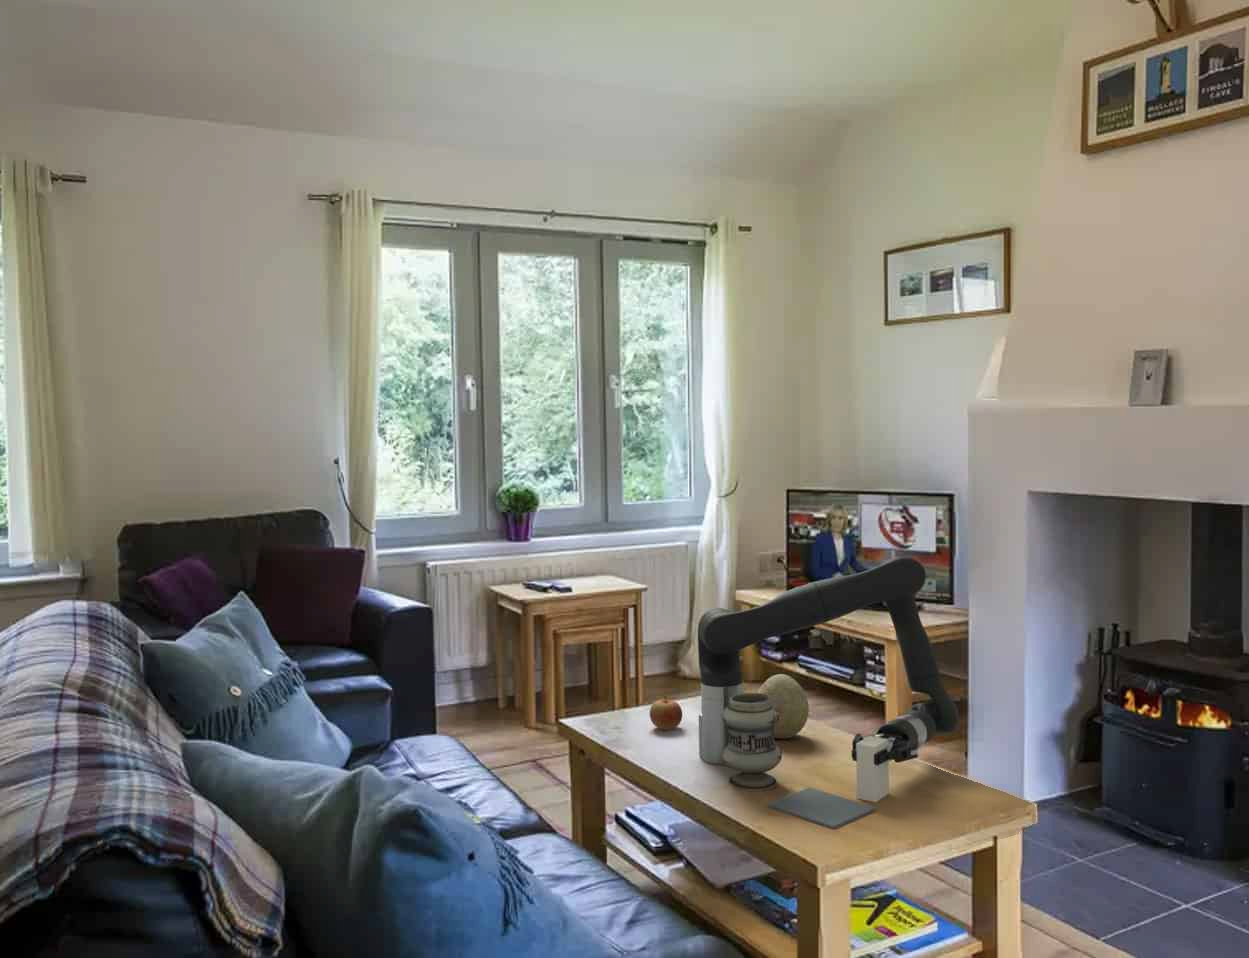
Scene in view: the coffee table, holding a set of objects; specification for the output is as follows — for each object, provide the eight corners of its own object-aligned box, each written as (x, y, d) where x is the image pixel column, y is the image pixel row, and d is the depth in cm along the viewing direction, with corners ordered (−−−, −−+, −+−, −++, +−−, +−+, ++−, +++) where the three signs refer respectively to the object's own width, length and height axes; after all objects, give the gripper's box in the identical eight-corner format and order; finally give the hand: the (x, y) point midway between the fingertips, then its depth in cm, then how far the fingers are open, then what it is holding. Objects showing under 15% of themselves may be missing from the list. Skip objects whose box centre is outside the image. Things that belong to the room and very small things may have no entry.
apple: (647, 724, 262) (647, 693, 261) (679, 722, 263) (678, 691, 262) (652, 734, 254) (651, 701, 253) (684, 732, 255) (684, 699, 254)
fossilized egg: (743, 736, 250) (742, 673, 250) (783, 726, 257) (782, 665, 257) (779, 749, 240) (778, 684, 239) (820, 738, 247) (819, 675, 246)
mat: (767, 806, 205) (767, 803, 205) (809, 789, 213) (809, 787, 213) (833, 828, 193) (833, 826, 193) (875, 810, 201) (875, 807, 201)
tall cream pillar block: (856, 798, 208) (856, 743, 207) (870, 789, 212) (869, 735, 212) (875, 802, 205) (874, 746, 205) (889, 793, 210) (888, 739, 209)
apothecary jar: (713, 778, 221) (711, 694, 220) (762, 769, 226) (761, 686, 225) (741, 796, 210) (739, 707, 209) (793, 787, 215) (791, 700, 214)
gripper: (870, 713, 223) (831, 733, 210) (934, 724, 214) (898, 745, 201) (870, 748, 224) (832, 770, 210) (935, 760, 215) (899, 784, 201)
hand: (865, 757), depth 206 cm, fingers closed on tall cream pillar block, 4 cm apart
